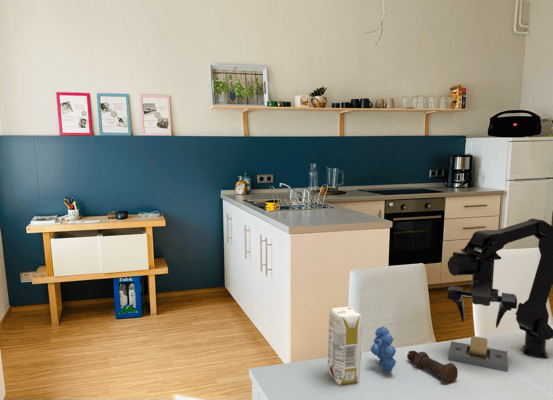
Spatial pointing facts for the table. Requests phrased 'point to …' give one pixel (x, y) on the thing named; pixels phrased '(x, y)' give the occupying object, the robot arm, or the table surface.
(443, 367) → the bolt
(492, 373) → the table surface
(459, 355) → the grey slotted plate
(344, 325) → the juice carton
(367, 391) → the table surface
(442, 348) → the table surface
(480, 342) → the wooden block
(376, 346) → the grapes
